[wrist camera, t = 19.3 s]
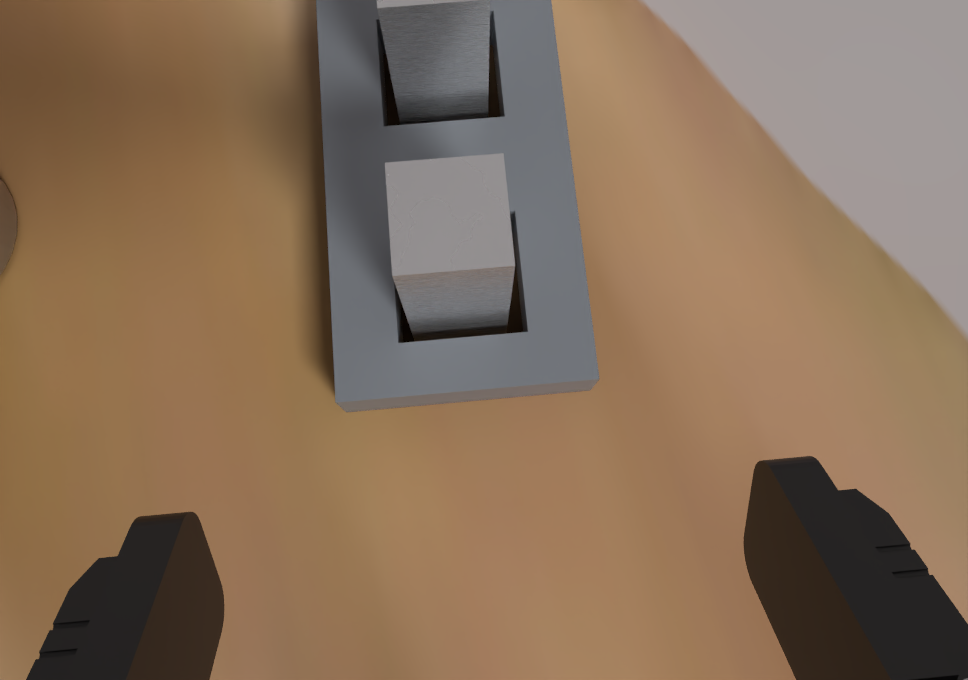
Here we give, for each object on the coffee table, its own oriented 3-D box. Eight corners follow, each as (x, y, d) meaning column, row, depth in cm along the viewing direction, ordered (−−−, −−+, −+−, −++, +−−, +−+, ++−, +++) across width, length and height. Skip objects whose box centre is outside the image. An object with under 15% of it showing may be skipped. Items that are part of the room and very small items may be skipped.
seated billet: (487, 133, 42) (490, -1, 32) (403, 140, 42) (377, 7, 31) (480, 58, 43) (479, -96, 33) (397, 65, 43) (370, -88, 33)
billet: (505, 337, 40) (515, 265, 29) (416, 344, 40) (392, 275, 29) (497, 252, 41) (503, 153, 30) (409, 259, 41) (384, 162, 30)
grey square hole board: (590, 390, 39) (599, 378, 36) (346, 412, 39) (335, 402, 36) (542, 1, 44) (546, -36, 41) (326, 18, 44) (315, -19, 41)
